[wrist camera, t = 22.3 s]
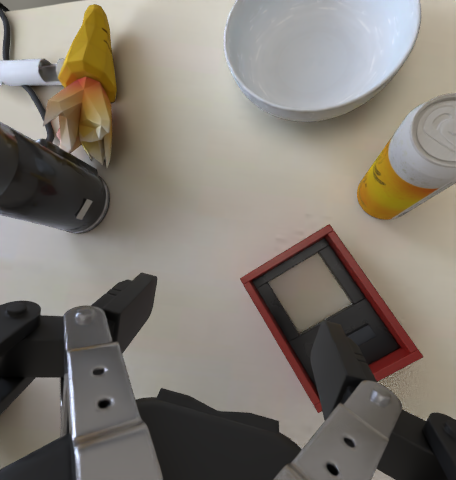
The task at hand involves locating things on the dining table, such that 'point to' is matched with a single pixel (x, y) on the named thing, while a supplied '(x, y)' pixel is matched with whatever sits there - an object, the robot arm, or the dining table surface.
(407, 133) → the lager tin can
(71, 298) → the dining table surface
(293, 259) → the red picture frame
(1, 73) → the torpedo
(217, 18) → the dining table surface
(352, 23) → the serving bowl
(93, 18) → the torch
